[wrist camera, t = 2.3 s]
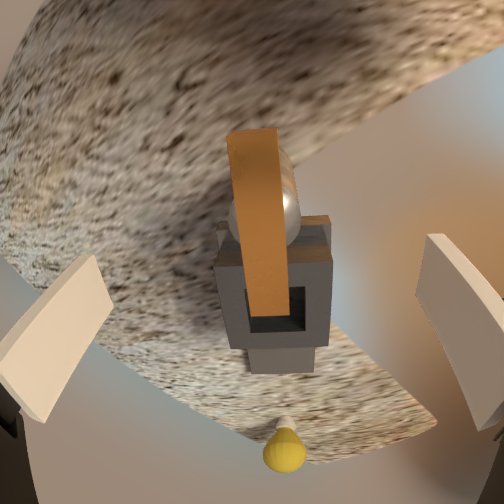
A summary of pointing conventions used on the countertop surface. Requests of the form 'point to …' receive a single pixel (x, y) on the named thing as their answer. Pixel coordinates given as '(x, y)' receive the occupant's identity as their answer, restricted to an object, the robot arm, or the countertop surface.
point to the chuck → (300, 291)
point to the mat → (281, 360)
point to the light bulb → (284, 448)
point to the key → (263, 216)
